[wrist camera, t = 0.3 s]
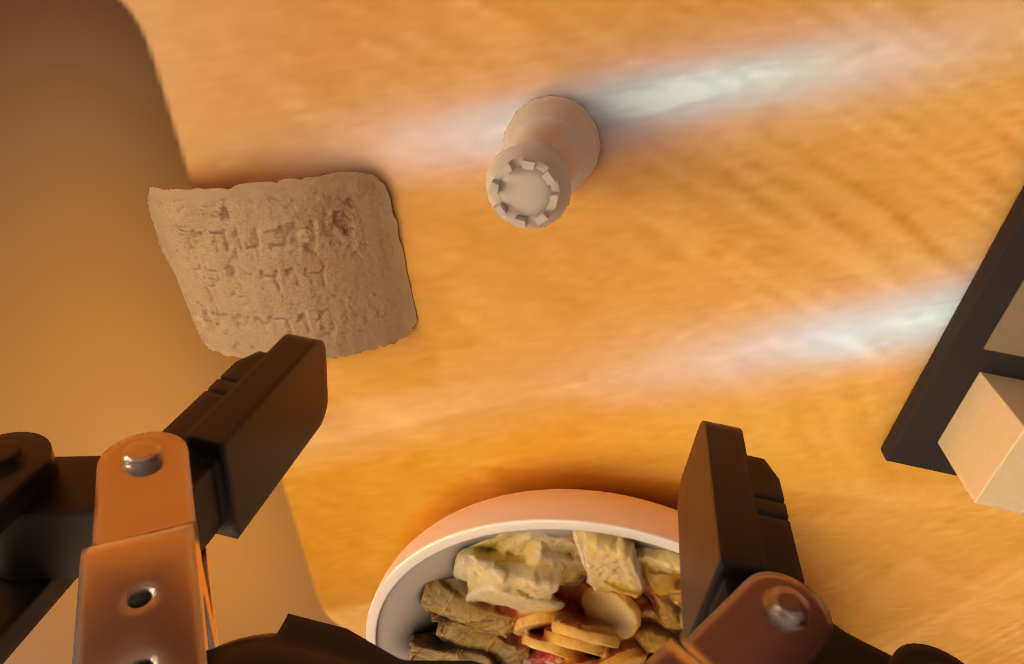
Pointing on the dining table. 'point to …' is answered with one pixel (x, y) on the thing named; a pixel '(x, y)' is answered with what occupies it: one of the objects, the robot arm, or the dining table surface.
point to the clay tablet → (288, 262)
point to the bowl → (536, 582)
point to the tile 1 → (989, 442)
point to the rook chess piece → (542, 161)
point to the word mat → (967, 350)
